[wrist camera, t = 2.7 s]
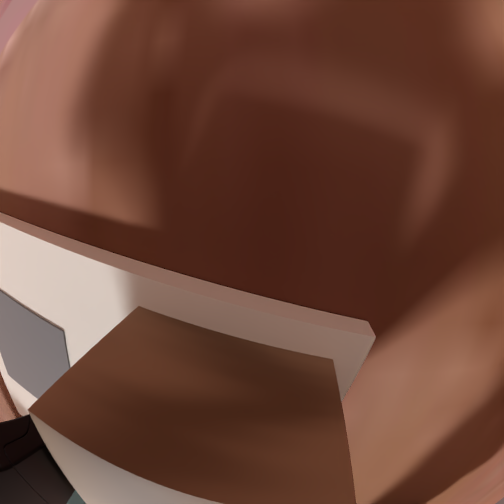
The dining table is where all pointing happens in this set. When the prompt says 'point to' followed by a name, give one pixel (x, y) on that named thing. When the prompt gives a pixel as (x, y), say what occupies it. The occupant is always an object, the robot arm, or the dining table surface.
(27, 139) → the dining table surface
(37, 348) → the board
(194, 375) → the walnut block
